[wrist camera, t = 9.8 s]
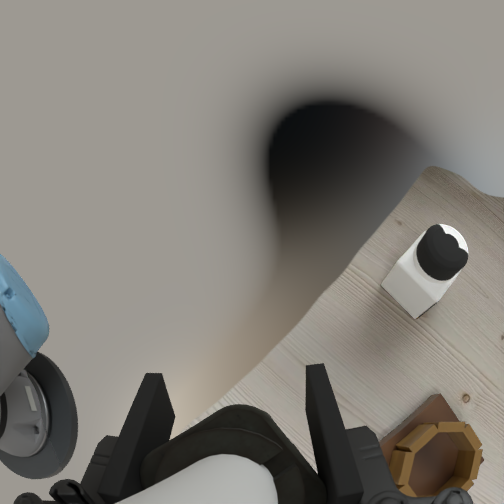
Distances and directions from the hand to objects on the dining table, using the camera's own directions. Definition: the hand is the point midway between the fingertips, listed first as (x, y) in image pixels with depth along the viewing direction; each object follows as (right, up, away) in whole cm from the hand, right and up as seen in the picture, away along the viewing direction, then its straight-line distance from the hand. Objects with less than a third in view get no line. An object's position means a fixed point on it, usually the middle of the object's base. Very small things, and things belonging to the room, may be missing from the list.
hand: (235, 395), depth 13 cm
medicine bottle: (+23, +1, +28) cm, 36 cm away
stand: (+22, -20, +16) cm, 34 cm away
